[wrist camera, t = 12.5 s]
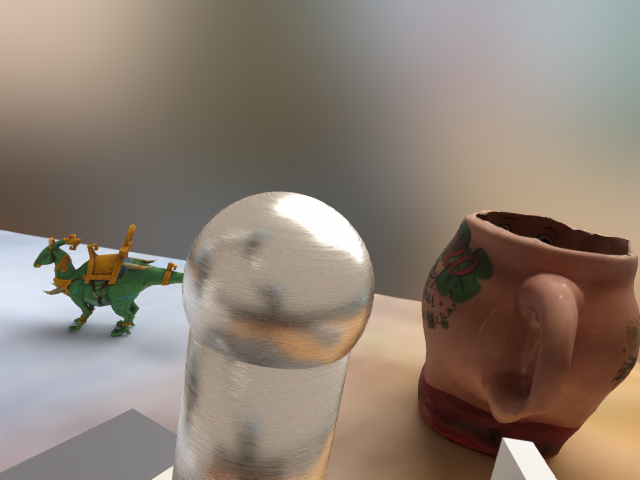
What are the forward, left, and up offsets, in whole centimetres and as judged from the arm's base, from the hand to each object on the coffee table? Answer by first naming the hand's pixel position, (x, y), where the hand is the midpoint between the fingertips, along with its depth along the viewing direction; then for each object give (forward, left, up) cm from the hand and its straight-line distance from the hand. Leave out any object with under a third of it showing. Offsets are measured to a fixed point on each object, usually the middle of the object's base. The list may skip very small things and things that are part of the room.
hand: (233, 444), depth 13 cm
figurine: (-23, +15, -10) cm, 29 cm away
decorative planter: (+3, +23, -10) cm, 26 cm away
